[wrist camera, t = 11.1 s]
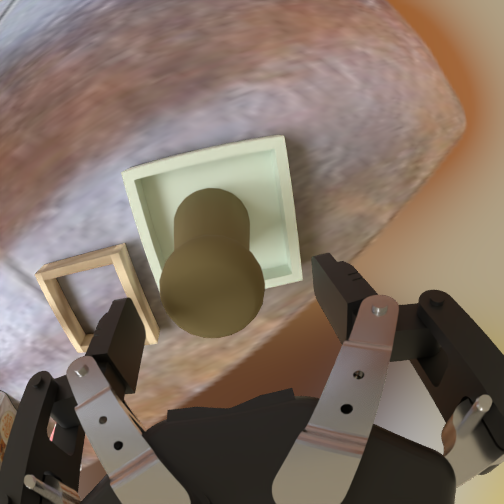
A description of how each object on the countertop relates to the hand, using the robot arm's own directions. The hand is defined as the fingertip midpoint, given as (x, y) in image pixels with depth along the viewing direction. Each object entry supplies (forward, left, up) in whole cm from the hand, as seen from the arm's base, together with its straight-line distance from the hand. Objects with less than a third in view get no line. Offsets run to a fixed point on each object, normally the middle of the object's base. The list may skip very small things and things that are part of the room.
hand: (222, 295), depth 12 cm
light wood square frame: (+6, -13, -12) cm, 19 cm away
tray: (+1, 0, -12) cm, 12 cm away
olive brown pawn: (+1, -1, -11) cm, 11 cm away
